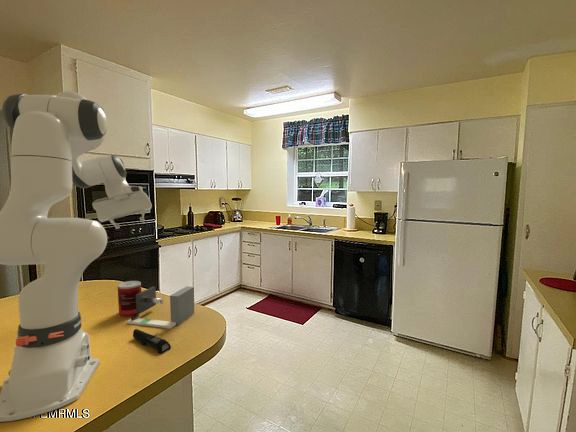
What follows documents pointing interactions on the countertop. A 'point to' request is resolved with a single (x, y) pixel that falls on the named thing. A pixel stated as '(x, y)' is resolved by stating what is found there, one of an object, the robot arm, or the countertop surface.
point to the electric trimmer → (151, 341)
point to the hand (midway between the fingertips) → (130, 224)
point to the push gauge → (173, 310)
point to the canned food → (128, 297)
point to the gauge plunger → (146, 301)
